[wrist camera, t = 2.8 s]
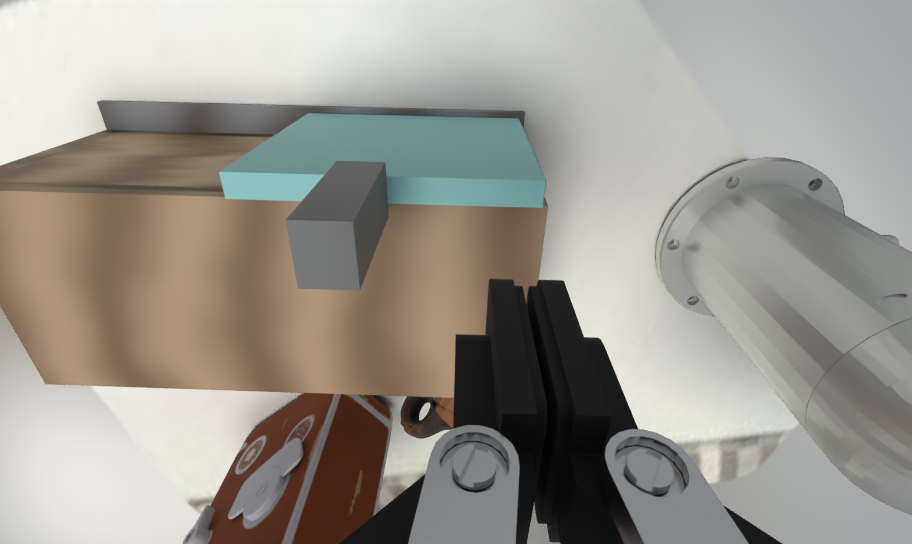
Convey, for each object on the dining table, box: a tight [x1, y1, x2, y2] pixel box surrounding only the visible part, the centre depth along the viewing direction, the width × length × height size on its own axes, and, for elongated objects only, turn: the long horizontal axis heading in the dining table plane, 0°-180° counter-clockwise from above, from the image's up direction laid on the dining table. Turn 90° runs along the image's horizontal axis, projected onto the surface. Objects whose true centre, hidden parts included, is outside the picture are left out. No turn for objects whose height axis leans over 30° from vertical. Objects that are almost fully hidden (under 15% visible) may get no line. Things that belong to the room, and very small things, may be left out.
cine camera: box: [183, 393, 392, 544], centre depth 37 cm, size 9×19×20 cm, turn 129°
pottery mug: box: [401, 396, 454, 438], centre depth 39 cm, size 12×9×8 cm
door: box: [219, 113, 546, 291], centre depth 22 cm, size 14×2×18 cm, turn 89°
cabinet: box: [0, 101, 548, 398], centre depth 28 cm, size 28×14×12 cm, turn 89°
